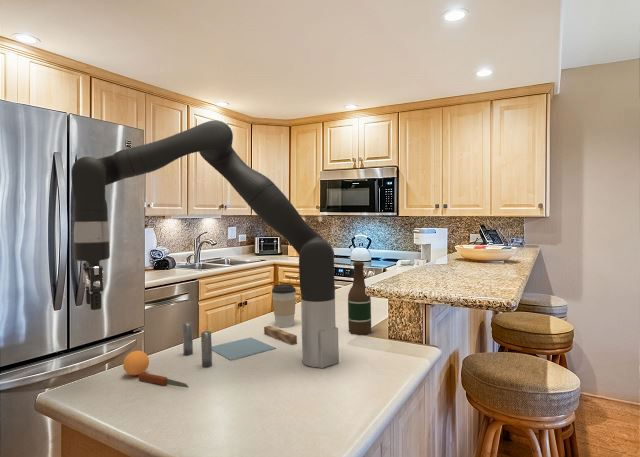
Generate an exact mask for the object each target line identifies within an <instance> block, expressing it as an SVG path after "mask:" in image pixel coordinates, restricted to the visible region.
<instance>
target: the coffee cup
mask: <svg viewBox="0 0 640 457" xmlns="http://www.w3.org/2000/svg"><path fill="white" fill-rule="evenodd" d="M296 292H297V290H296V287H294V285H293V284H287V283H285V284H278V283H277V284H274V288H272V289H271V293H272V306H273V315H274V321H275V326H276V327H277V328H291V327H294V325H295V314H296V302H297V297H296Z"/></svg>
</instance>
